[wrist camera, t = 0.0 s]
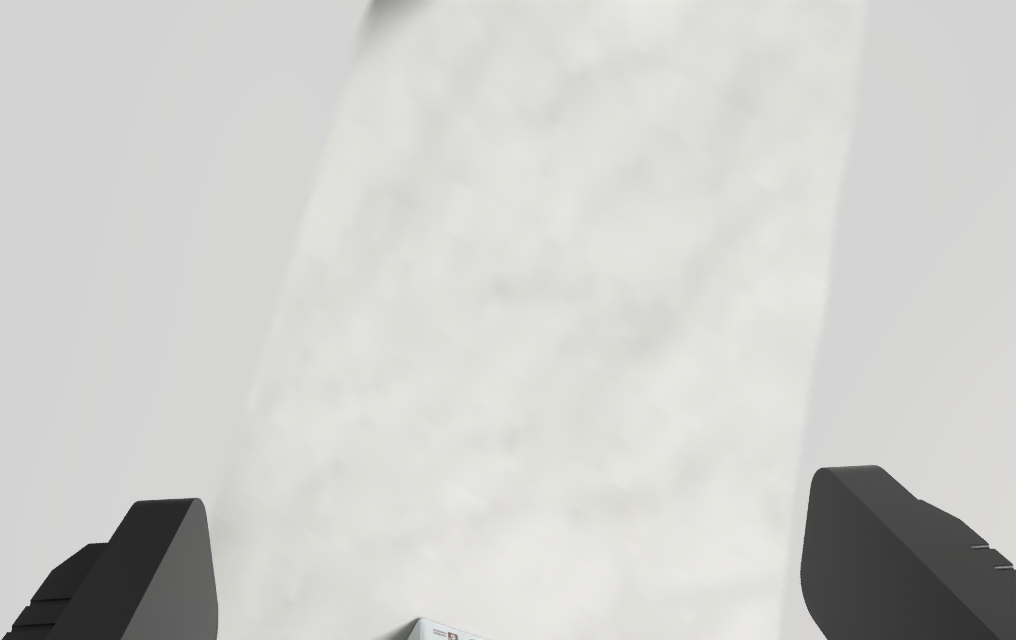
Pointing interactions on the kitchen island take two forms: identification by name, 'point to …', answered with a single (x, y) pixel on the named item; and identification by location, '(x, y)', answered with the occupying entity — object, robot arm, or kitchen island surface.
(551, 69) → the kitchen island surface
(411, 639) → the supplement box
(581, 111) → the kitchen island surface
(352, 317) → the kitchen island surface
